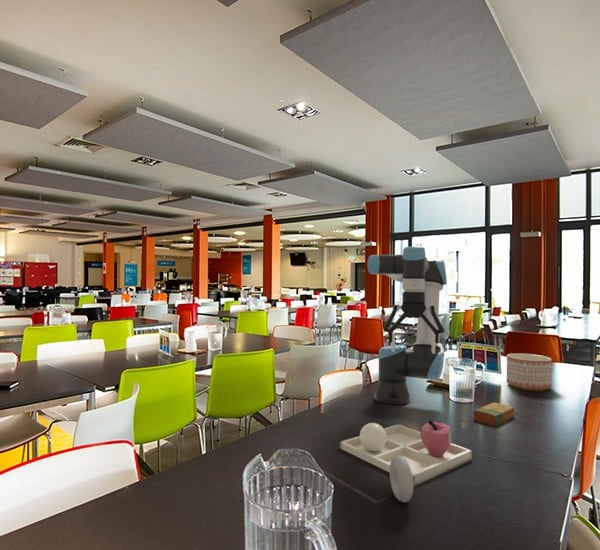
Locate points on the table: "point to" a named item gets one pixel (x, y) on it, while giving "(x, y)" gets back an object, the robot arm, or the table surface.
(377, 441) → the white ball
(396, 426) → the tray
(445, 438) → the apple
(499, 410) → the carton
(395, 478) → the white thick disc
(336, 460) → the table surface
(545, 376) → the planter
